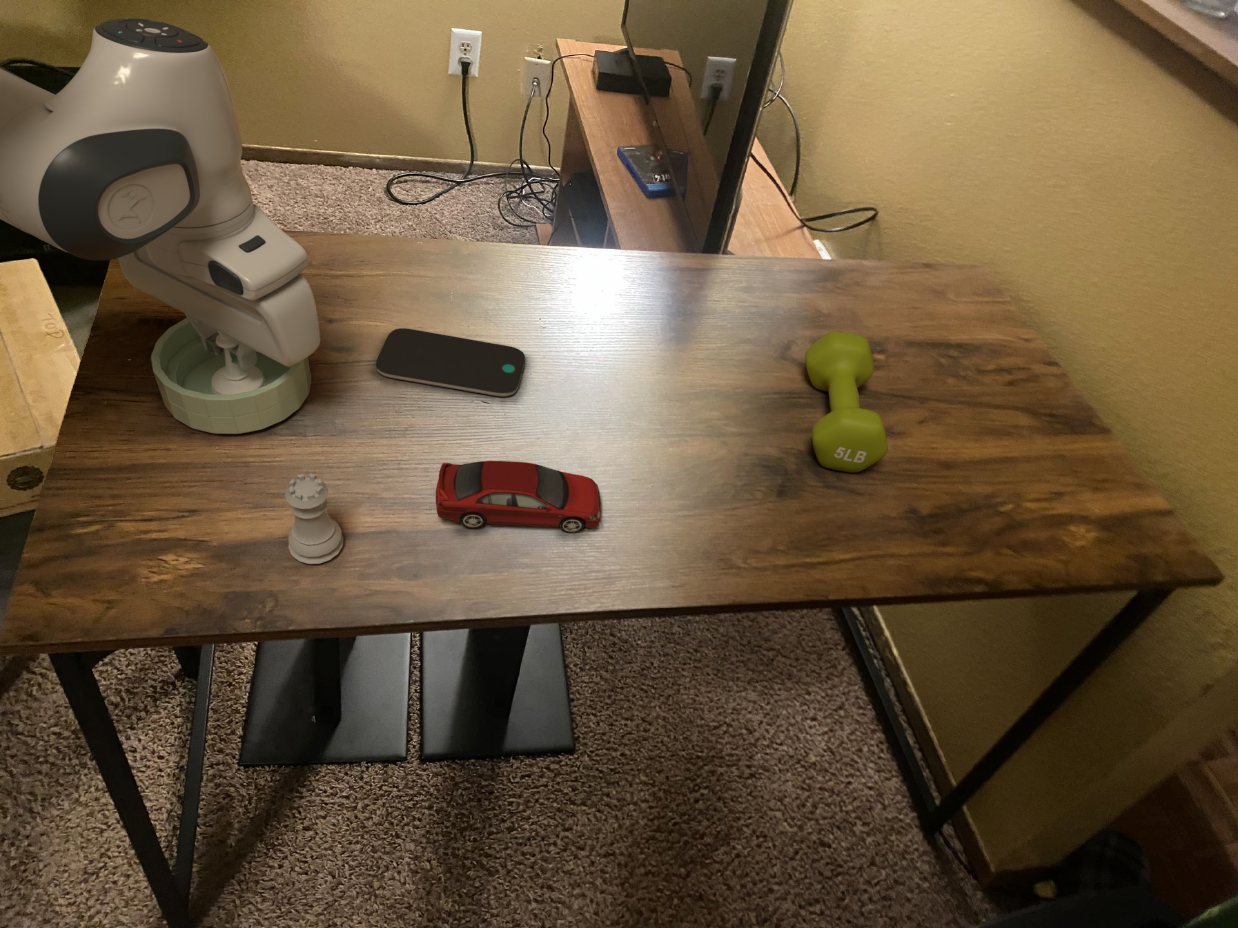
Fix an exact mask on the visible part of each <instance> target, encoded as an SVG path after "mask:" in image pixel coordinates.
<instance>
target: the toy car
mask: <svg viewBox="0 0 1238 928" xmlns="http://www.w3.org/2000/svg"><path fill="white" fill-rule="evenodd" d="M435 506H436V513H437V516H438V518H439V519H444V520H445V519H446V520H450V521H455V522H459V521H460V523H461V525H462V526H463V527H465V528H468V529H478V528H481V527H483V526H484V525H485V522H486V524H487V525H488V524H489V525H507V526H508V525H509V526H510V525H511V526H531V527H532V526H533V527H550V528H553V527H554V528H559V527H560V529H561V531H563V532H564V533H568V534H575V533H578V532H580V531H582V530H583V529H584V527H585V529H597V528H599V525H600V522H601V519H602V518H601V517H602V499H601V492H600V489H599V486H598V483H596V482H595V480H594V479H593V478H591V477H589V476H585V475H581V474H575V473H571V472H566V471H561V470H557V469H554V468H550V467H547V466H543V465H540V464H537V463H532V462H526V461H513V460H512V461H511V460H482V461H480V460H479V461H474V462H468V463H463V464H462V463H461V464H459V463H458V464H457V463H450V462H442V463H441V465H440V469H439V471H438V479H437V482H436V487H435Z"/></svg>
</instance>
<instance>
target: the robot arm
mask: <svg viewBox="0 0 1238 928" xmlns="http://www.w3.org/2000/svg"><path fill="white" fill-rule="evenodd" d="M90 45H91V46H90V48H89V49H90V50H89V52H88V54H87V56H86V57H85V60H84V62H83V63H82V65H81V66H80V68H79V69H78V70H77V72H76V73H75V74H74V76H73V77H72V79H70V80H69V82H68V83H67V84H66V85H65V86H64V87H63V88H62V89H61V90H60V91H58V92H57V93H56V94H54V93H52V92H50V91H48V90H46V89H44V88H42V87H40V86H37V85H36V84H33V83H31V82H29V81H27V80H25V79H23V78H22V77H21V76H19V75H17V74H16V73H14V72H12V71H10V70H8V69H6V68H5V67H2V66H0V220H1V221H4V223H7V224H9V225H11V226H13V227H14V228H16V229H18V230H20V231H22V232H24V233H27V234H29V235H32V236H33V237H35V238H37V239H39V240H41V241H43V242H44V243H47V244H49V245H51V246H52V247H54V248H56V249H59V250H61V251H63V252H66V253H67V254H70V255H72V256H74V257H77V258H79V259H82V260H87V261H97V262H101V261H103V262H104V261H110V260H111V261H112V260H117V259H118V263H119V267H120V270H121V273H122V275H123V277H124V278H125V279H126V280H127V282H128V283H129V284H130V286H131V287H132V288H134V289H136V290H138V291H140V292H142V293H144V294H146V295H147V296H150V297H152V298H154V299H155V300H158V301H159V302H161V303H164V304H165V305H168V306H169V307H171V308H172V309H175V310H177V311H178V312H181V313H183V314H185V319H186V318H187V320H188V321H189V322H190V324H191V325H192V326H193V328H194V329H195V330H196V332H197V333H198V334H199V336H201V339H202V343H203V346H204V349H205V350H207V351H210V352H212V353H214V354H215V355H217V356H218V355H221V354H222V352H224V348H222V347H219V346H218V345H217V344H216V337H217V336H218V335H219V333H218V331H219V332H221V333H223V334H225V335H227V336H229V337H231V338H233V341H234V343H235V344H237V345H238V344H239V345H238V347H237V348H234V349H232V350H231V351H229V353H230V357H231V358H232V360H231V361H232V363H233V364H234V365H236V366H238V367H240V368H241V369H243V370H248V369H249V368H251V367H252V366H254V365H255V364H256V363H257V360H258V359H257V354H256V351H258V352H260V353H262V354H264V355H266V356H268V357H270V358H271V359H273V360H275V361H277V362H279V363H281V364H283V365H285V366H287V367H292V366H294V365H296V364H297V363H299V362H301V361H302V360H304V359H305V358H307V357H308V358H309V356H311V355H312V354H313V353H314V352H315V351H316V350H317V349H318V348H319V346H320V343H321V331H320V323H319V315H318V309H317V306H316V305H317V304H316V300H315V297H314V292H313V290H312V288H311V285H310V283H309V282H308V281H307V279H306V277H304V275H303V274H302V272H304V271H305V270H306V269H307V268H308V266H309V259H308V258H309V257H308V253H307V252H306V250H305V248H304V247H303V246H302V245H301V244H300V243H298V242H297V241H296V240H295V239H293V238H292V237H291V236H289V234H287V233H286V232H285V231H283V229H282V228H281V227H279V226H278V225H277V224H276V223H275V222H274V221H273V220H272V219H271V218H270V217H269V216H268V215H267V214H266V213H265V212H264V210H262V208H261V207H260V206H258V205H257V204H255V203H254V201H253V195H252V190H251V187H250V185H249V182H248V181H247V178H246V177H245V175H244V172H243V170H242V155H243V142H242V136H241V130H240V125H239V120H238V117H237V111H236V106H235V103H234V98H233V95H232V92H231V88H230V85H229V82H228V79H227V76H226V73H225V70H224V68H223V66H222V63H221V61H220V59H219V57H218V56H217V53H216V52H215V50H214V48H213V47H212V46H211V44H210V43H208V42H207V41H205V40H204V39H203V37H200V36H199V35H196V34H194V33H192V32H191V31H188V30H186V29H183V28H181V27H179V26H176V25H173V24H170V23H167V22H164V21H156V20H152V19H151V20H150V19H148V18H137V17H136V18H135V17H122V18H112V19H109V20H106V21H103V22H100V23H99V24H97V25H96V26H95V27H94V28H93V30H92V36H91V44H90Z"/></svg>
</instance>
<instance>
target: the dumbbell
mask: <svg viewBox="0 0 1238 928" xmlns="http://www.w3.org/2000/svg"><path fill="white" fill-rule="evenodd" d="M804 359H805V368H806V370H807V376H808V379H809V380H810V383H811V385H812V386H813V388H815V389H817V390H819V391H823V392H827V393H828V398H829V399H828V400H829V407H830V411H829V413H827V414H825V415H824V416H823V417H821V418H820V419H819V420H818V421H817V422H816V423H814V425H813V426H812V429H811V440H812V447H813V451H814V453H815V457H816V459H817V462H818V463H819V465H820V466H822V467H823V468H826V469H829V470H833V471H834V470H835V471H839V472H846V473H859V472H862V471H864V470H866V469H868V468H869V467H871V466H874V464H876V463H877V462H879V461H880V460H882V459H883V458H884V457H885V456H886V455H887V453H888V450H889V447H888V446H889V445H888V444H889V443H888V438H887V433H886V429H885V425H884V422H883V419H882V417H881V415H880V414H879V413H878V412H875V411H873V410H870V409H866V408H861V404H860V395H859V391H858V389H859V388H860V387H861V386H862V385H864V384H865V383H866V382H868V381H869V380H870V379H871V378H872V377H873V376H874V372H875V364H874V358H873V353H872V348H871V345H870V343H869V340H868V339H867V337H865V336H863V335H861V334H857V333H851V332H846V331H840V330H839V331H838V330H834V331H830V332H827V333H826V334H825V335H823V336H821V337H820V338H818V339H817V341H815V342H814V343H812V345H810V346H808V348H807V349H806V350H805V355H804Z"/></svg>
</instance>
